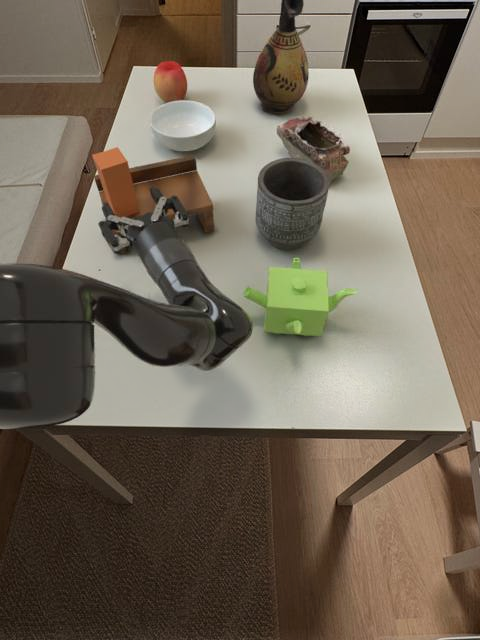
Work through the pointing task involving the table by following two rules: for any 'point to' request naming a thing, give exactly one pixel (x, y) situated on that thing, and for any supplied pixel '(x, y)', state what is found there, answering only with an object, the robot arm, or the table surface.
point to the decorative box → (315, 144)
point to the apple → (170, 81)
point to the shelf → (169, 189)
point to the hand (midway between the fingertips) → (129, 198)
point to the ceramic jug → (282, 64)
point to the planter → (291, 201)
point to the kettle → (296, 300)
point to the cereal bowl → (183, 125)
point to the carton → (116, 182)
